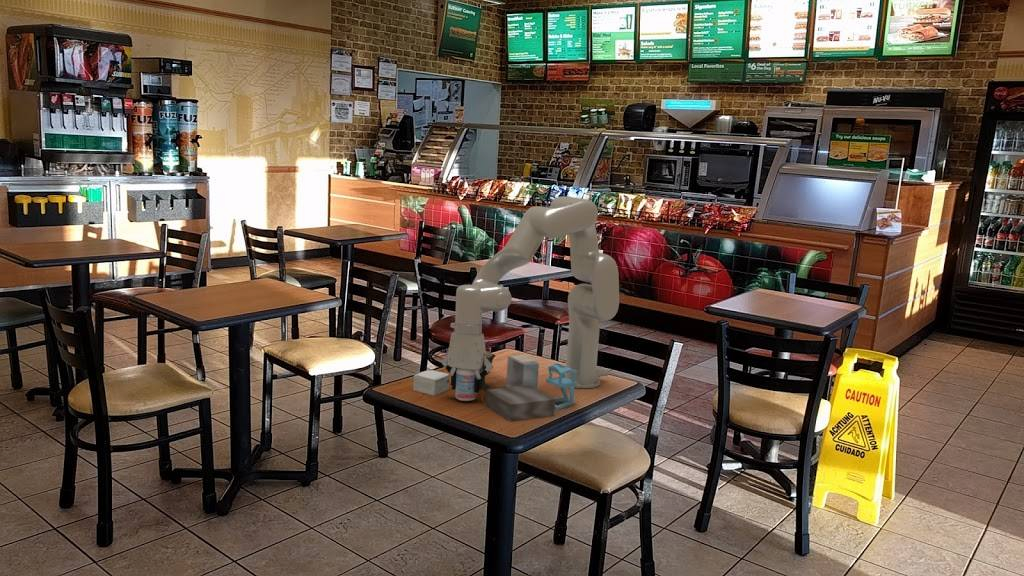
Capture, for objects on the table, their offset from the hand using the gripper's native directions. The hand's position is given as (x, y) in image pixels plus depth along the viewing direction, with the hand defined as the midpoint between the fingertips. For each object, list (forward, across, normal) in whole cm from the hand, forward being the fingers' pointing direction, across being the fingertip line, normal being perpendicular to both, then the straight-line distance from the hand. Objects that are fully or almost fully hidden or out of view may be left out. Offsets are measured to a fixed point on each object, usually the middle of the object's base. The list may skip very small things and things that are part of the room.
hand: (466, 389), depth 224 cm
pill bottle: (+3, 0, 0) cm, 3 cm away
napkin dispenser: (+3, +12, +15) cm, 20 cm away
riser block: (+4, +17, -2) cm, 17 cm away
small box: (+4, -12, +4) cm, 14 cm away
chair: (+4, +26, +9) cm, 28 cm away
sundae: (+4, 0, +14) cm, 15 cm away
